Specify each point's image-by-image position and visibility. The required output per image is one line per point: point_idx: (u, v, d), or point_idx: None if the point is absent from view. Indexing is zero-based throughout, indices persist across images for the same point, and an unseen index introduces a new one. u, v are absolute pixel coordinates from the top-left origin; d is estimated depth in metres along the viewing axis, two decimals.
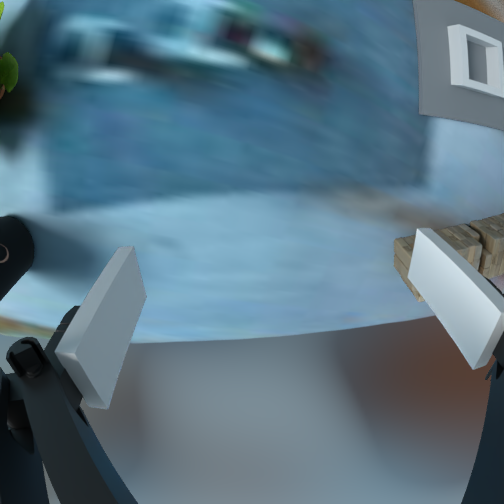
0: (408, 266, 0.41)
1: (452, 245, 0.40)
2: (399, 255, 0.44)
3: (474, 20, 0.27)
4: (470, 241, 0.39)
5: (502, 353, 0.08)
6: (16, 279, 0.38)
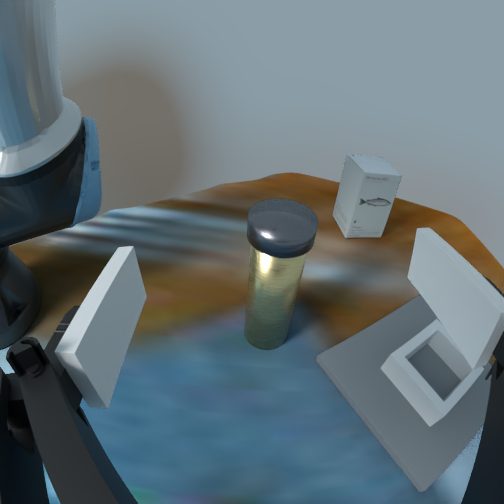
0: None
1: None
2: None
3: (397, 328, 0.36)
4: None
5: (502, 353, 0.08)
6: None
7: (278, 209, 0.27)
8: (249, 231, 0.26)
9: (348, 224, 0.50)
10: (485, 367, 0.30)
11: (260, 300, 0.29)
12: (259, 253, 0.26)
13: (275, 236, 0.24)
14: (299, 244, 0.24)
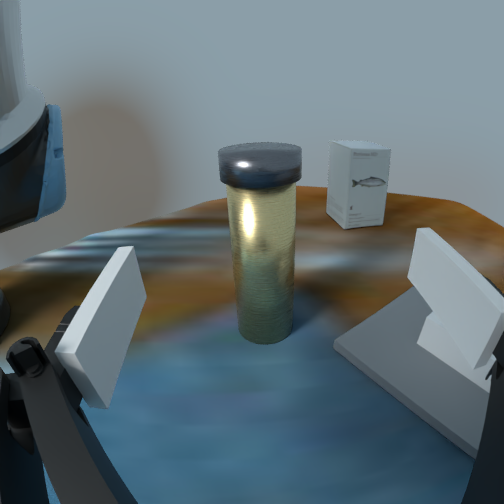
0: None
1: None
2: None
3: None
4: None
5: (502, 353, 0.08)
6: None
7: (254, 146, 0.22)
8: (221, 168, 0.21)
9: (344, 212, 0.45)
10: None
11: (248, 265, 0.23)
12: (236, 193, 0.21)
13: (250, 157, 0.19)
14: (281, 166, 0.19)
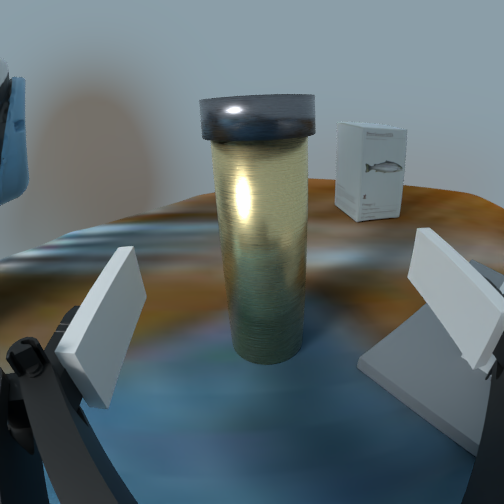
0: None
1: None
2: None
3: None
4: None
5: (502, 353, 0.08)
6: None
7: None
8: (202, 119, 0.14)
9: (357, 202, 0.38)
10: None
11: (242, 257, 0.16)
12: (224, 152, 0.14)
13: None
14: (288, 109, 0.12)
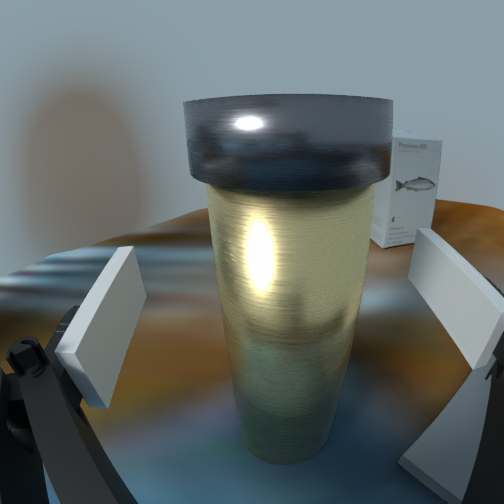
0: None
1: None
2: None
3: None
4: None
5: (502, 353, 0.08)
6: None
7: None
8: (188, 140, 0.07)
9: (383, 225, 0.32)
10: None
11: (260, 368, 0.10)
12: (230, 206, 0.08)
13: (272, 94, 0.05)
14: (363, 128, 0.06)
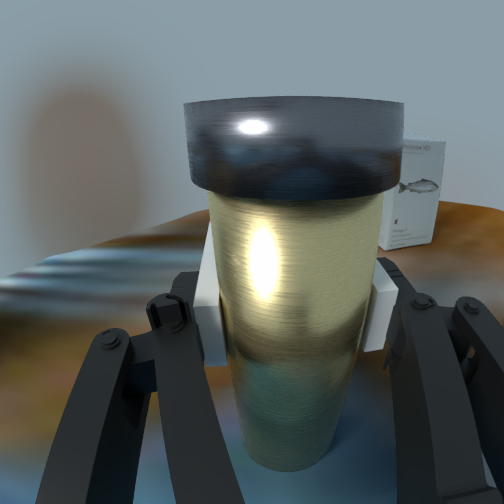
0: None
1: None
2: None
3: None
4: None
5: (394, 342, 0.09)
6: None
7: None
8: (189, 144, 0.07)
9: (386, 227, 0.31)
10: None
11: (263, 379, 0.09)
12: (233, 214, 0.07)
13: (280, 96, 0.05)
14: (375, 133, 0.06)
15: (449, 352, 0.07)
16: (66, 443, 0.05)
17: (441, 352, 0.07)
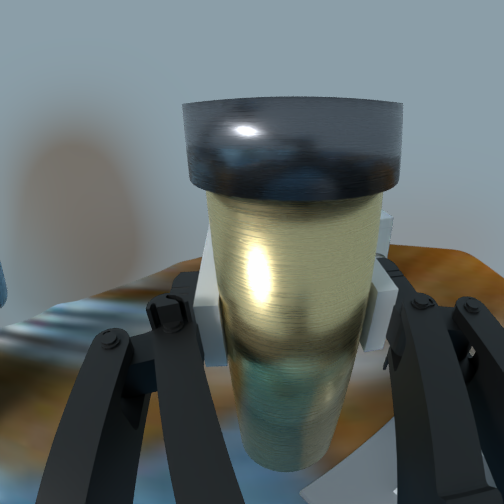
0: None
1: None
2: None
3: None
4: None
5: (394, 342, 0.09)
6: None
7: None
8: (188, 144, 0.07)
9: None
10: None
11: (262, 379, 0.09)
12: (231, 215, 0.07)
13: None
14: (373, 134, 0.06)
15: (449, 352, 0.07)
16: (66, 443, 0.05)
17: (441, 352, 0.07)
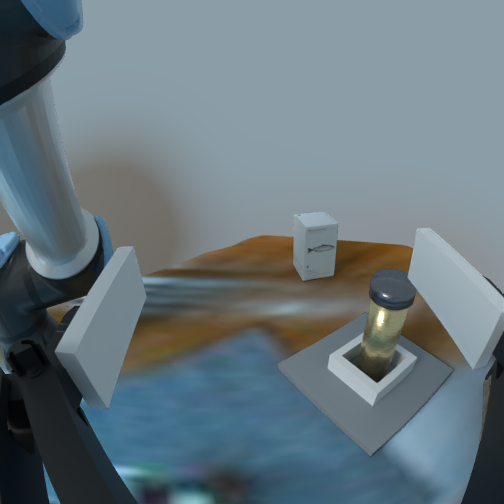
0: None
1: None
2: None
3: (342, 339, 0.48)
4: None
5: (502, 353, 0.08)
6: None
7: (388, 276, 0.35)
8: (376, 296, 0.34)
9: (303, 269, 0.65)
10: (426, 358, 0.42)
11: (379, 344, 0.36)
12: (383, 310, 0.34)
13: (398, 295, 0.32)
14: (411, 298, 0.32)
15: None
16: None
17: None
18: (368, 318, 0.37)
